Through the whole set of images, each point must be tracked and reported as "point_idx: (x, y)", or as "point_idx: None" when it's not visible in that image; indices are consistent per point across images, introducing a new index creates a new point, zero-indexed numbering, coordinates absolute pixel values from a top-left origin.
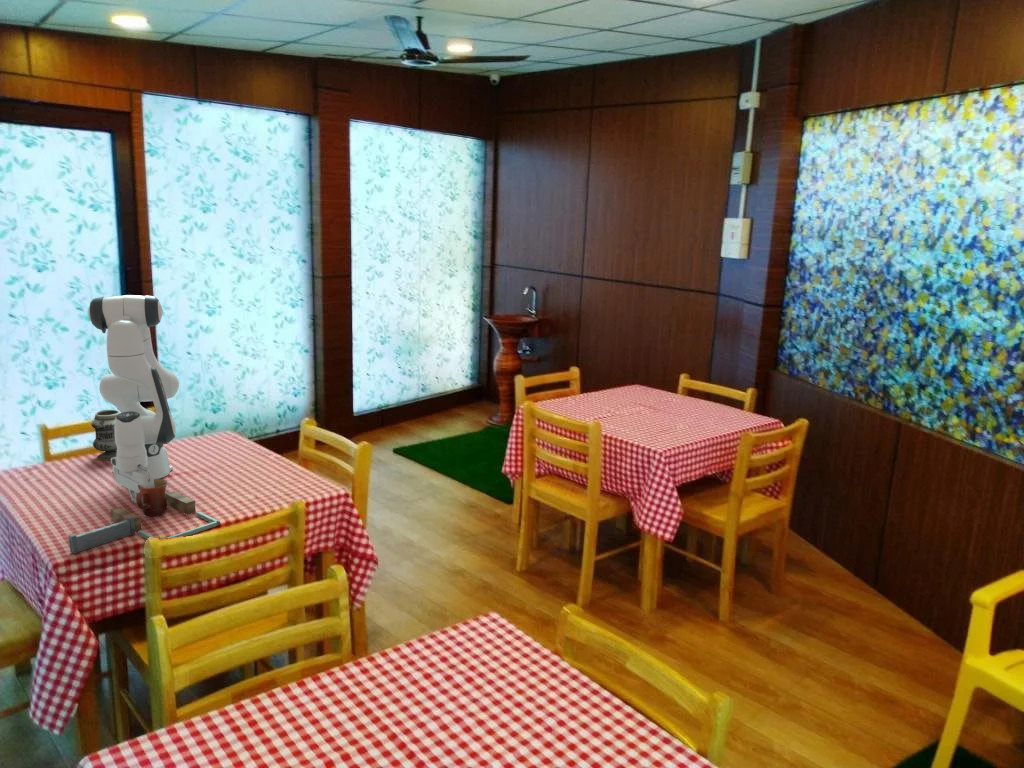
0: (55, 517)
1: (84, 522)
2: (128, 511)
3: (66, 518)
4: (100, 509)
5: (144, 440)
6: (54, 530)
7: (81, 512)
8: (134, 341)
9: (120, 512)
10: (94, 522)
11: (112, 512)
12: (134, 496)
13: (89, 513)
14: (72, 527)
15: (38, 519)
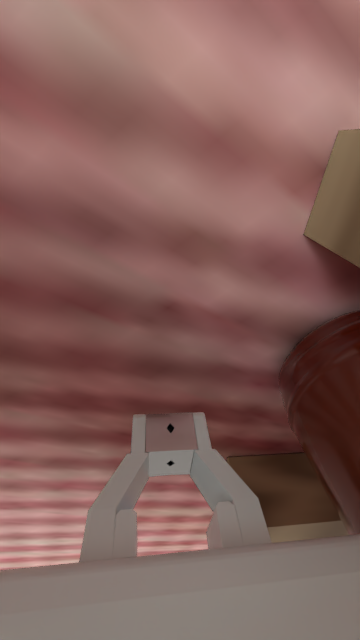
0: (19, 544)
1: (144, 515)
2: (340, 521)
3: (56, 533)
4: (36, 473)
5: None
6: (137, 549)
7: (22, 509)
8: None
9: (310, 535)
10: (173, 503)
11: None
12: (152, 466)
13: (58, 498)
14: (156, 532)
15: (5, 561)
